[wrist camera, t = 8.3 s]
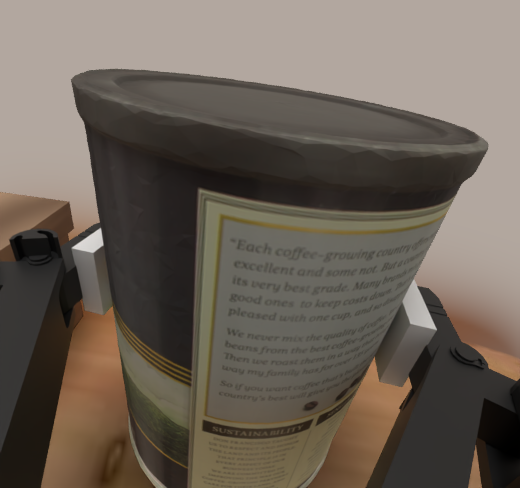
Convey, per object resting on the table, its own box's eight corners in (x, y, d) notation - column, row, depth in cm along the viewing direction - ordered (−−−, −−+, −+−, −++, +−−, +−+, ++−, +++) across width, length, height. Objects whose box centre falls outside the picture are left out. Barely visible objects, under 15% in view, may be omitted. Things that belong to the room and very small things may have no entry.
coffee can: (71, 460, 12) (-76, 54, 5) (193, 303, 21) (201, 72, 14) (321, 581, 10) (640, 196, 3) (341, 353, 19) (439, 112, 12)
